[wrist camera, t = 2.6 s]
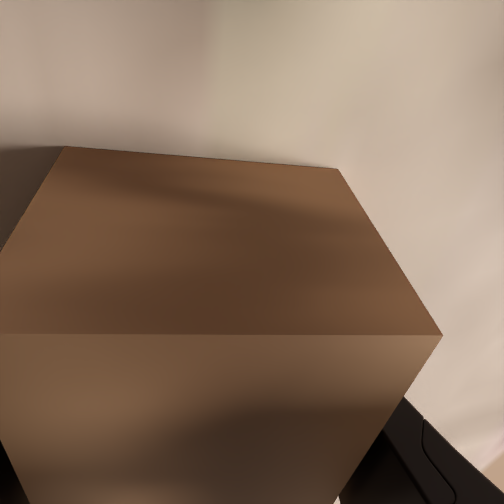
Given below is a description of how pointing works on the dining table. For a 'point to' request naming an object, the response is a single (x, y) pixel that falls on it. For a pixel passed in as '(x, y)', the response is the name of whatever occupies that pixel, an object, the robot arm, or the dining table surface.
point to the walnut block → (199, 332)
